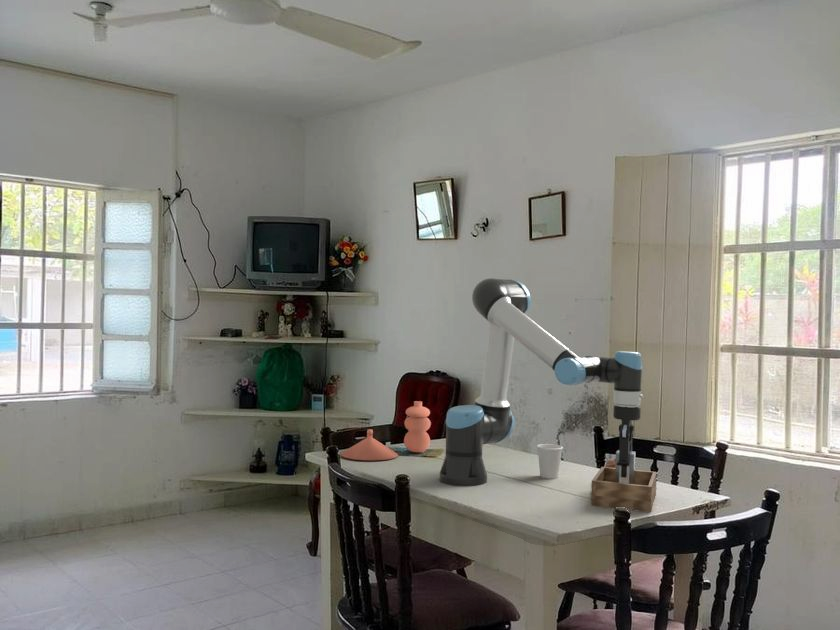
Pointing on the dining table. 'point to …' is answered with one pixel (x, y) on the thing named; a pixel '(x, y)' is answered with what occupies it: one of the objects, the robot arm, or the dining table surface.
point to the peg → (631, 467)
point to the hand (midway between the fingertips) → (624, 485)
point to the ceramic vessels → (413, 439)
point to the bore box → (624, 490)
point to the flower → (611, 463)
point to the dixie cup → (549, 460)
